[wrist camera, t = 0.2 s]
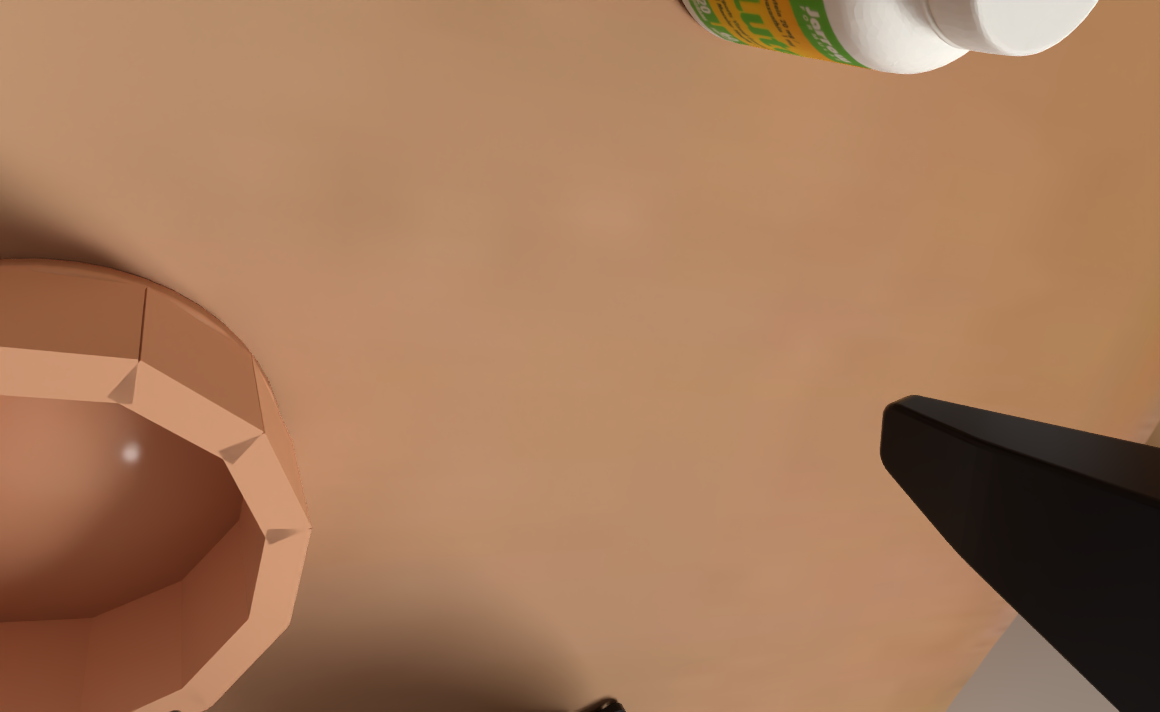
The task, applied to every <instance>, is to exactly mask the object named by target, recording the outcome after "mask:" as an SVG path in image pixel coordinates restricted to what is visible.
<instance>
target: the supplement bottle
mask: <svg viewBox="0 0 1160 712" xmlns="http://www.w3.org/2000/svg"><path fill="white" fill-rule="evenodd" d="M682 1H683V3H684V5H685V7H686V8H687V10H688V11H689V13H690V14H691V15H692V17H693V18H694V19H695V20H696V21H697V22H698V23H699V24H700V25H701V26H702V27H703V28H705V29H706V30H707V31H708V32H710V33H712V34H713V35H715V36H717V37H719V38H722V39H724V40H727V41H731V42H735V43H739V44H743V45H748V46H753V47H758V48H763V49H768V50H773V51H778V52H783V53H788V54H793V55H798V56H803V57H808V58H814V59H819V60H825V61H830V62H835V63H840V64H845V65H850V66H855V67H861V68H866V69H871V70H876V71H882V72H890V73H898V74H916V73H921V72H926V71H930V70H933V69H936V68H939V67H942V66H945V65H946V64H948V63H950V62H952V61H954V60H956V59H958V58H959V57H961V56H963V55H964V54H966V53H967V52H968V51H970V50H971V51H977V52H984V53H991V54H999V55H1008V56H1025V55H1031V54H1036V53H1039V52H1042V51H1044V50H1046V49H1048V48H1050V47H1052V46H1054V45H1055V44H1057V43H1059V42H1060V41H1061V40H1062V39H1064V38H1065V37H1066V36H1068V35H1069V34H1070V33H1071V32H1072V31H1073V30H1074V29H1075V28H1076V27H1077V26H1078V25H1079V24H1080V23H1081V22H1082V21H1083V20H1084V19H1085V18H1086V17H1087V15H1088V14H1089V13H1090V12H1091V10H1092V9H1093V8H1094V6H1095V5H1096V3H1097V2H1098V0H682Z"/></svg>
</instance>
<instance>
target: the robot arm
mask: <svg viewBox="0 0 1160 712" xmlns="http://www.w3.org/2000/svg"><path fill="white" fill-rule="evenodd" d="M880 456H881V460H882V463H883V465H884V466H885V468H886V470H887V471H888V472H889V474H890V475H891V476H892V477H893V478H894V479H895V481H896V482H897V483H898V484H899V485H900V487H901V488H902V489H903V490H904V491H905V492H906V494H907V495H908V496H909V497H910V498H911V499H912V501H913V502H914V503H915V504H916V505H917V507H918V508H919V509H920V510H921V511H922V512H923V514H924V515H925V516H926V517H927V518H928V520H929V521H930V522H931V523H932V524H933V525H934V527H935V528H936V529H937V530H938V531H939V532H940V534H941V535H942V536H943V537H944V538H945V540H946V541H947V542H948V543H949V544H950V545H951V546H952V547H953V549H954V550H955V551H956V552H957V553H958V554H959V555H960V556H961V557H962V558H963V559H964V560H965V561H966V562H967V563H968V564H969V565H970V566H971V567H972V568H973V569H974V570H975V571H976V572H977V573H978V574H979V575H980V576H981V577H982V578H983V579H984V580H985V581H986V582H987V583H988V584H989V585H990V586H991V587H992V588H993V589H994V590H995V591H996V592H997V593H998V594H999V595H1000V596H1001V597H1002V598H1003V599H1004V600H1005V601H1006V602H1007V603H1008V604H1010V605H1011V606H1012V607H1013V608H1014V609H1015V610H1016V611H1017V612H1018V613H1019V614H1020V615H1021V616H1022V617H1023V618H1024V619H1025V620H1026V621H1027V622H1028V623H1029V624H1030V625H1031V626H1032V627H1033V628H1034V629H1036V631H1037V632H1038V633H1039V634H1040V635H1042V637H1043V638H1045V640H1046V641H1048V642H1049V643H1050V644H1051V645H1052V646H1053V647H1054V648H1055V649H1056V650H1057V651H1058V652H1059V653H1060V654H1061V655H1062V656H1063V657H1064V658H1065V659H1066V660H1067V661H1068V662H1069V663H1070V664H1071V665H1072V666H1073V667H1074V668H1075V669H1077V671H1079V673H1080V674H1081V675H1083V676H1084V677H1085V678H1086V679H1087V680H1088V681H1089V682H1090V683H1091V684H1092V685H1093V686H1094V687H1095V688H1096V689H1097V690H1098V691H1099V692H1100V693H1101V694H1102V695H1103V696H1104V697H1105V698H1106V699H1107V700H1108V701H1109V702H1110V703H1111V704H1112V705H1113V706H1114V707H1115V708H1116V709H1117V710H1119V712H1160V448H1158V447H1153V446H1149V445H1145V444H1140V443H1135V442H1131V441H1126V440H1122V439H1117V438H1112V437H1108V436H1103V435H1098V434H1094V433H1089V432H1085V431H1080V430H1075V429H1071V428H1066V427H1062V426H1057V425H1052V424H1048V423H1043V422H1038V421H1034V420H1029V419H1025V418H1020V417H1015V416H1011V415H1006V414H1001V413H997V412H992V411H988V410H983V409H978V408H974V407H969V406H965V405H960V404H955V403H951V402H946V401H942V400H937V399H932V398H928V397H923V396H918V395H910V396H907V397H904V398H902V399H900V400H897V401H895V402H892V403H890V404H889V405H887V406H886V408H885V409H884V411H883V418H882V430H881V442H880ZM170 712H181V711H179V710H173V711H170ZM598 712H626V711H625V709H624V708H623V706H622V704H620V703H614V704H611V705H609V706H608V707H606V708H604V709H602V710H600V711H598Z"/></svg>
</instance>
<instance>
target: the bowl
mask: <svg viewBox="0 0 1160 712" xmlns="http://www.w3.org/2000/svg"><path fill="white" fill-rule="evenodd" d="M311 530H312V527H311V523H310V518H309V514H308V509H307V505H306V500H305V495H304V491H303V486H302V482H301V477H300V473H299V468H298V464H297V459H296V455H295V450H294V446H293V441H292V439H291V437H290V435H289V432H288V430H287V428H286V426H285V424H284V422H283V420H282V418H281V415H280V413H279V409H278V404H277V401H276V398H275V396H274V393H273V390H272V388H271V385H270V382H269V381H268V379H267V377H266V375H265V373H264V372H263V370H262V368H261V366H260V365H259V363H258V361H257V360H256V359H255V357H254V356H253V355H252V353H251V352H250V351H249V350H248V348H247V347H246V346H245V344H244V343H243V342H242V341H241V340H240V339H239V338H238V337H237V336H236V335H235V334H234V333H233V332H232V331H231V330H230V329H229V328H228V327H227V326H226V325H225V324H224V323H222V322H221V321H220V320H218V319H217V318H216V317H214V316H213V315H212V314H210V313H209V312H208V311H206V310H205V309H204V308H202V307H201V306H199V305H198V304H196V303H194V302H192V301H191V300H189V299H187V298H185V297H184V296H182V295H180V294H178V293H177V292H175V291H173V290H171V289H168V288H166V287H164V286H161V285H159V284H157V283H154V282H152V281H150V280H147V279H145V278H142V277H139V276H135V275H132V274H129V273H126V272H122V271H119V270H116V269H113V268H108V267H103V266H98V265H92V264H87V263H82V262H76V261H65V260H54V259H43V258H28V259H0V712H170V711H173V710H179V711H181V712H202V711H205V710H207V709H209V707H212V706H213V704H214V703H215V702H216V701H217V700H218V699H219V698H220V697H221V696H222V695H223V694H224V693H225V692H226V691H227V690H228V689H229V688H230V687H231V686H232V685H233V684H234V683H235V681H236V680H237V679H238V678H239V677H240V676H241V675H242V674H243V673H244V672H245V671H246V670H247V669H248V668H249V667H250V666H251V665H252V664H253V663H254V662H255V661H256V660H257V659H258V657H259V656H260V655H261V654H262V653H263V652H264V651H265V650H266V649H267V648H268V647H269V646H270V645H271V644H272V643H273V642H274V641H275V640H276V639H277V638H278V637H279V636H280V635H281V633H282V632H283V631H284V630H285V629H286V628H287V627H288V626H289V624H290V621H291V617H292V613H293V608H294V604H295V600H296V595H297V591H298V587H299V582H300V578H301V574H302V569H303V565H304V561H305V556H306V552H307V548H308V543H309V539H310V535H311Z"/></svg>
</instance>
